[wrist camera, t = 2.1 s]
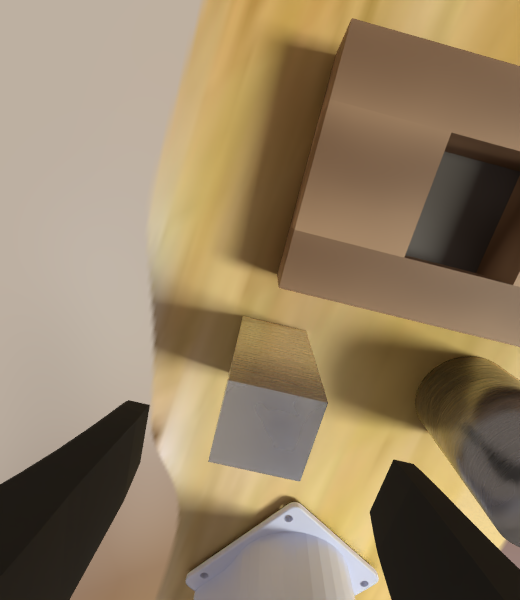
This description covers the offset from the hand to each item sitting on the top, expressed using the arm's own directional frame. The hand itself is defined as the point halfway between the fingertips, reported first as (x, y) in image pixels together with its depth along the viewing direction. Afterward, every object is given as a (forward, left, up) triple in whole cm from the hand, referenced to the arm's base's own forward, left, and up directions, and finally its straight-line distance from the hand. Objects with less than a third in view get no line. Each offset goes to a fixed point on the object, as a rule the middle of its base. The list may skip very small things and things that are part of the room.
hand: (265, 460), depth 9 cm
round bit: (+6, -9, -7) cm, 13 cm away
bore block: (+10, 0, -7) cm, 13 cm away
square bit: (0, 0, -7) cm, 7 cm away
